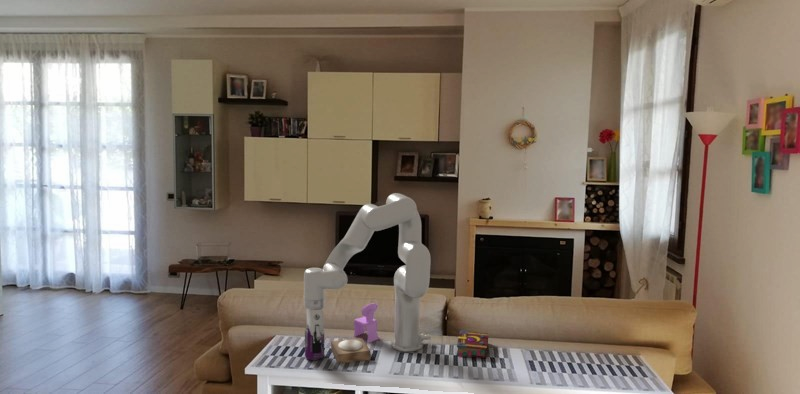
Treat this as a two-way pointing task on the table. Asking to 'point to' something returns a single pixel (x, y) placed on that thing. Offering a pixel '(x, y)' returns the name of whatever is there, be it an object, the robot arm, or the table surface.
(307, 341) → the beverage can
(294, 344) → the table surface
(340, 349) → the base
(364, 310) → the toy chair
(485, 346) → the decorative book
